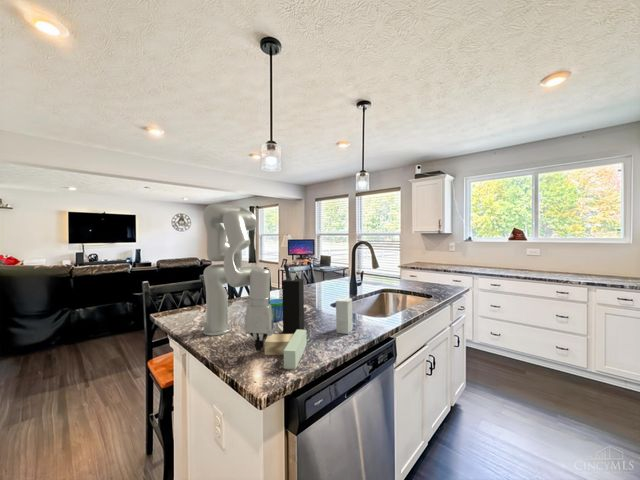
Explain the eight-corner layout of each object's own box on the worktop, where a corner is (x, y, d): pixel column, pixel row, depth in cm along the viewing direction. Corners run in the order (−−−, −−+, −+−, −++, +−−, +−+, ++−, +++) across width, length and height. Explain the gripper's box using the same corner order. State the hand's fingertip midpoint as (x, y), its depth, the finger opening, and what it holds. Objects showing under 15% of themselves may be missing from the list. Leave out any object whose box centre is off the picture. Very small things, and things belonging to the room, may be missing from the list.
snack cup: (268, 325, 135) (268, 305, 135) (258, 320, 143) (258, 301, 143) (294, 319, 145) (293, 300, 145) (283, 314, 153) (283, 297, 153)
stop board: (283, 368, 90) (283, 350, 90) (297, 343, 110) (296, 329, 110) (295, 369, 89) (295, 351, 89) (306, 344, 110) (306, 329, 110)
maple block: (264, 355, 100) (264, 341, 100) (268, 346, 108) (268, 334, 108) (291, 354, 100) (291, 341, 100) (293, 346, 108) (293, 333, 108)
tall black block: (299, 337, 118) (298, 273, 118) (282, 336, 119) (281, 273, 119) (304, 331, 125) (303, 271, 125) (288, 330, 127) (287, 271, 127)
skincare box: (348, 334, 120) (348, 301, 120) (335, 333, 123) (335, 300, 122) (353, 328, 128) (352, 297, 128) (341, 327, 130) (340, 297, 130)
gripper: (236, 303, 99) (236, 352, 99) (275, 305, 96) (274, 355, 97) (245, 298, 106) (244, 343, 107) (281, 300, 104) (281, 346, 104)
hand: (259, 349), depth 102 cm, fingers closed
